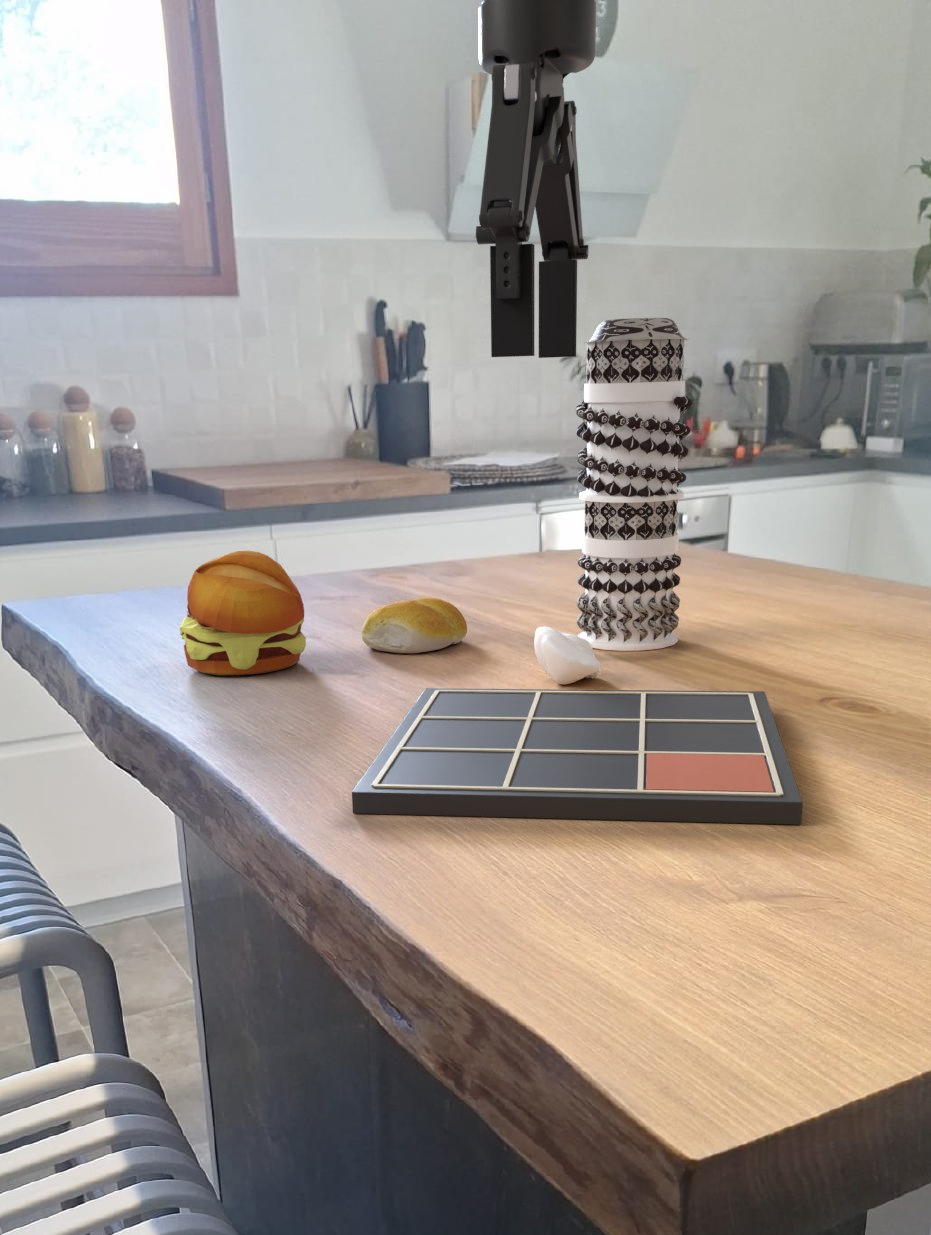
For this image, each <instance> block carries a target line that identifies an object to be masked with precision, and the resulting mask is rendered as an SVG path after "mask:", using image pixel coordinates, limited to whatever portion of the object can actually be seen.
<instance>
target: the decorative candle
mask: <svg viewBox="0 0 931 1235" xmlns="http://www.w3.org/2000/svg"><path fill="white" fill-rule="evenodd" d="M687 340H689V338H686V337H684V336H683V335H682V333H681V331H680V330H679V327H678V325H677V323H676V322H675V321H674V320H673V319H672V318H668V317H634V318H633V317H631V318H616V319H614V318H613V319H606V320H604V321H602V322H601V323H599V324H598V326H597V327H596V329H595V331H594V333H593V334H592V336H591V338H590V339H589V340H587V341H585V342H584V344H586V383H583V399H582V401H581V402H580V403H578V404H577V405H576V407H575V414H576V416H577V417H578V418H580V419H582V420H583V422H582V423H580V424H578V425H577V427H576V430H575V435H576V436H577V437H579V438H580V439H581V440H582V441H583V442H584V441H585V442H586V446H585V447H583V449H581V450H579V452H578V453H577V462H578V463H579V464H580V465H581V466H583V467H584V468H583V469H582V470H580V471H579V472H578V475H577V478H576V480H577V482H578V483H579V484H581V486H582V487H584V488H585V490H583V491H581V492H579V496H578V497H579V499H580V500H581V501H584V529H583V531H584V533H583V534H582V535H581V552H582V553H583V555H582V556H580V557H579V558H578V560H577V566H579V567H580V568H582V569H583V570H584V573H583V574H581V575H580V576H579V578H578V579H577V584H578V585H579V586H580V587H582V588H583V589H584V592H583V593H582V594H581V595H579V597H578V598H577V600H576V606H577V608H578V610H579V611H580V612H581V613H580V614H579V615H578V617H577V619H576V625H577V626H578V628H579V629H580V630H581V631H582V632H580V633H578V635H577V636H579V637H581V638H583V639H585V640H587V641H588V642H589V644H590V645H591V647H592V648H593V649H598V650H604V651H617V652H618V651H619V652H637V651H649V650H650V651H651V650H660V649H663V648H664V649H665V648H669V647H672V646H674V645H676V644H677V643H678V642H679V636H678V635H677V633H675V632H674V630H676V629H677V628H678V627H679V621H680V618H679V616H678V615H677V613H675V612H676V611H677V610H678V609H679V608H680V602H681V599H680V597H679V596H678V595H677V594H676V593H675V591H674V588H676V587H677V586H678V585H680V583H681V576H679V575H678V574H676V573H675V571H674V570H675V569H677V568H678V567H681V563H682V557H680V556H679V555H678V554H677V553H678V552H679V543H680V542H679V540H680V538H679V537H680V534H679V533H678V532H677V531H678V530H677V523H678V513H679V512H678V508H677V507H678V503H679V500H680V499H682V498H683V499H684V498H685V492H684V491H683V490H682V489H679V488H678V487H679V486H680V485H681V484H683V483H684V482H686V480H687V475H686V474H685V473H684V472H682V471H681V470H680V469H679V466H678V465H679V462H681V461H682V459H684V458H686V457H687V456H688V455H689V448H688V447H687V446H686V445H684V444H683V443H682V440H683V439H685V438H687V437H688V436H689V435H690V433H691V432H692V431H691V430H692V429H691V427H690V426H689V425H687V424H685V422H684V421H682V422H681V421H680V420H681V418H680V417H681V414H682V413H683V414H685V413H686V412H687V411H690V410H691V409H692V408H693V405H694V401H693V400H692V399H691V398H689V397H688V396H687V395H685V394H686V392H685V391H686V380H684V375H683V369H684V364H685V355H684V348H685V341H687ZM679 443H680V444H679ZM607 645H608V646H607Z"/></svg>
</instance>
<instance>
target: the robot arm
mask: <svg viewBox="0 0 931 1235" xmlns="http://www.w3.org/2000/svg"><path fill="white" fill-rule="evenodd" d="M477 15H478V16H477V18H478V20H477V21H478V62H479V66H480V67H481V69H482V70H483V71H484V72H485V73H487V74H488V75H491V108H490V117H489V128H488V136H487V137H488V138H487V146H486V155H485V162H484V172H483V173H484V174H483V183H482V190H481V201H480V210H479V215H478V223H479V225H477V226H476V227H475V239H476V243H477V245H478V246H479V245H480V246H481V245H490V246H489V258H490V259H489V260H490V261H489V264H490V265H489V266H490V267H489V269H490V272H489V273H490V277H489V280H490V281H489V282H490V342H491V343H490V348H491V349H490V352H491V353H490V355H491V356H490V357H491V358H509V357H510V358H512V357H535V244H534V243H528V242H529V240H530V235H531V230H532V225H533V221H534V220H533V219H534V215H535V214H536V220H537V228H538V233H539V239H540V246H541V256H542V258H543V260H541V261H540V260H539V261H538V359H544V358H545V359H546V358H547V359H549V358H574V357H575V358H576V357H577V325H578V324H577V322H578V319H577V318H578V314H577V312H578V308H577V307H578V260H579V261H580V260H588V259H589V244H585V239H584V234H583V221H582V220H583V219H582V206H581V192H580V190H581V189H580V177H579V163H578V150H577V148H578V147H577V127H576V126H577V125H576V124H577V121H576V120H577V118H576V116H577V112H578V110H577V106H576V102H575V100H565V90H564V89H565V88H564V79H565V78H566V77H567V76H568V75H569V74H577V73H580V72H582V71H584V70H586V69H587V68H589V67H591V65H592V64H593V63H594V60H595V58H596V37H597V35H596V33H597V32H596V29H597V28H596V26H597V25H596V24H597V2H596V0H482V2H481V4H480V5H479V7H478V10H477ZM526 242H527V243H526Z"/></svg>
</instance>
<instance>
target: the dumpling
mask: <svg viewBox="0 0 931 1235" xmlns="http://www.w3.org/2000/svg"><path fill="white" fill-rule="evenodd" d="M533 640H534V642H533V645H534V653H535V656H536V659H537V662H538V665H539V666H540V668H541V669H542V670H543V671H544V673H545V674H546V675H548V676H549V677H550V678H551V680H552V681H553V682H554V683H557V684H558V685H562V686H564V685H569V684H572V683H575V682H577V681H580V680H582V679H584V678H585V679H590V678H591V679H592V678H596V677H597V676H599V675H600V673H601V672H600V671H601V670H600V669H601V666H602V665H601V662H600V661H599V659H597V657H596V655H595V652H594V648H592V647H591V645H590V644H589V642H588V641H587V640H585V639H583V638H581V637H579V636H578V635H576V634H571V633H566V632H563V631H559V630H558V629H555V628H553V627H551V626H550V627H549V626H539V627H537V628H536V630H535V633H534V638H533ZM607 646H608V645H607Z"/></svg>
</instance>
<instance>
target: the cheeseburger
mask: <svg viewBox="0 0 931 1235" xmlns="http://www.w3.org/2000/svg"><path fill="white" fill-rule="evenodd" d="M186 598H187V605H186V608H187V612H186V615H185V617H184V618H183V619H182V622H181V624H180V626H179V628H178V630H179V631H180V633H179V635H180V636H181V639H182V640H184V642H185V644H184V645H183V651H184V656H185V659H186V664H187V666H188V667H190V668H192V669H193V670H196V671H197V672H198V673H201V674H205V675H206V674H207V675H215V676H245V675H259V674H260V675H261V674H264V673H265V674H266V673H271V672H276V671H281V670H284V669H287V668H288V669H289V668H290V667H292V666H294V665H296V663H298V662H299V661H300V658H301V655H302V653H303V652H304V651H305V648H306V647H307V639H306V638H307V637H306V636H305V634H304V633H303V632H302V626H303V625H304V624H303V623H304V621H305V619H304V618H305V606H304V605H305V604H304V603H303V598H302V594H301V593H300V591H299V589H298V587H297V586H296V584H295V583H294V581H293V580H292V578H291V577H290V575H289V574H288V573H287V572H286V570H285V568H284V567H283V566H282V565H281V564H280V563H279V562H277V561H276V560H275V559H273V558H272V557H271V556H269V555H267V554H265V553H262V552H260V551H253V550H237V551H233V552H229V553H226V554H222V555H220V556H218V557H215V558H213V559H211V560H208V561H207V562H205V563H203V564H201V565H199V566H198V567H197V568H195V570H194V572H193V574H192V576H191V578H190V581H189V583H188V585H187V596H186Z"/></svg>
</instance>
